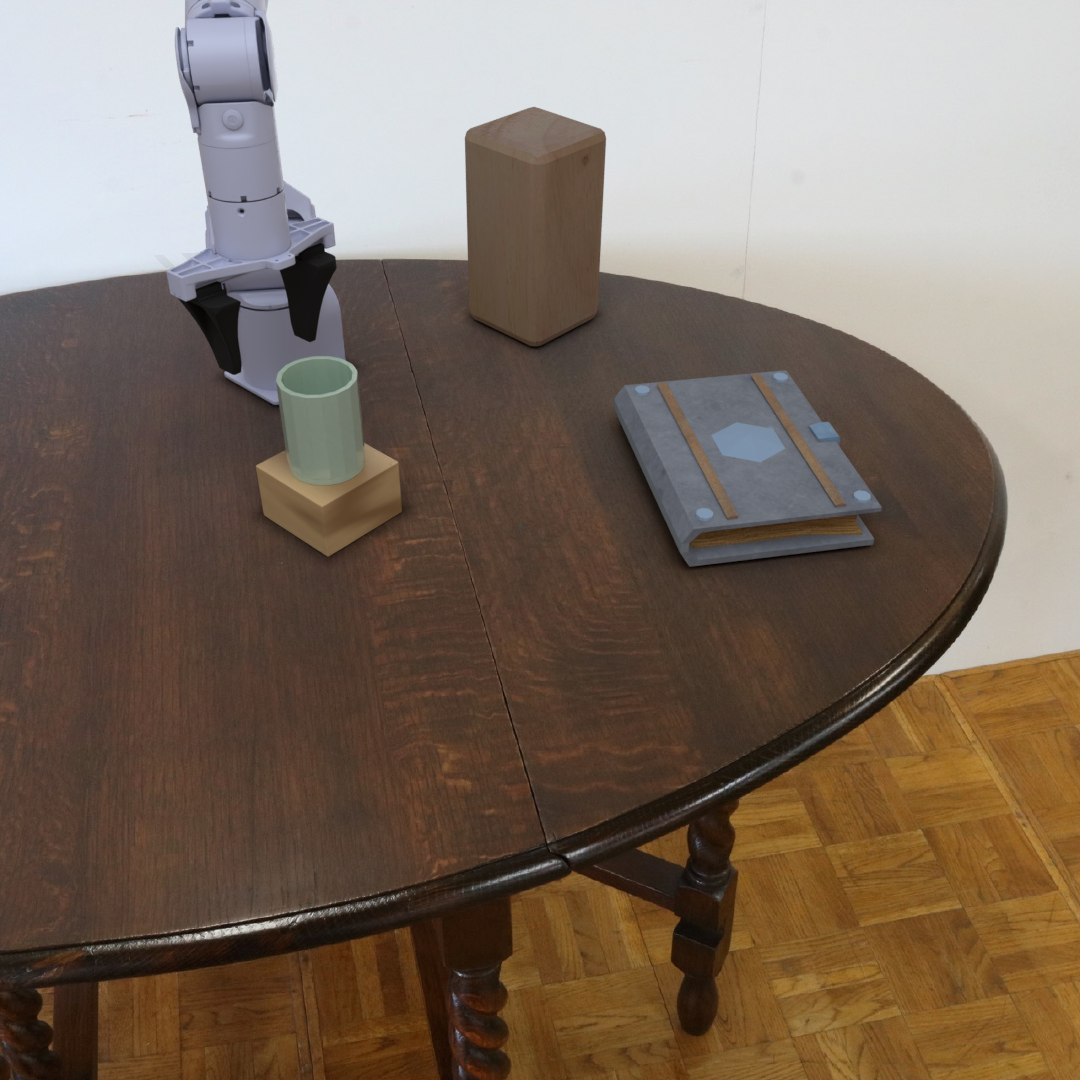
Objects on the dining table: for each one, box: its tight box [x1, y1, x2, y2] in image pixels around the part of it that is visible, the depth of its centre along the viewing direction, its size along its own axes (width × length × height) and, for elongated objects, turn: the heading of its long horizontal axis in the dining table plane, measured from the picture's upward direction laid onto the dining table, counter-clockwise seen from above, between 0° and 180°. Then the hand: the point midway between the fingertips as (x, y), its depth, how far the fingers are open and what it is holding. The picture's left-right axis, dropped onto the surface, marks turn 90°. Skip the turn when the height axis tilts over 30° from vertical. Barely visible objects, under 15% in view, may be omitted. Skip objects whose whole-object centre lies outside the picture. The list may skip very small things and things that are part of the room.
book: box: [613, 369, 883, 567], centre depth 100 cm, size 21×16×5 cm
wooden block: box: [464, 106, 607, 347], centre depth 117 cm, size 10×10×20 cm
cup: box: [276, 356, 365, 485], centre depth 91 cm, size 6×6×8 cm
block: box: [255, 442, 403, 558], centre depth 96 cm, size 8×8×5 cm
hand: (268, 353), depth 97 cm, fingers open, 7 cm apart
